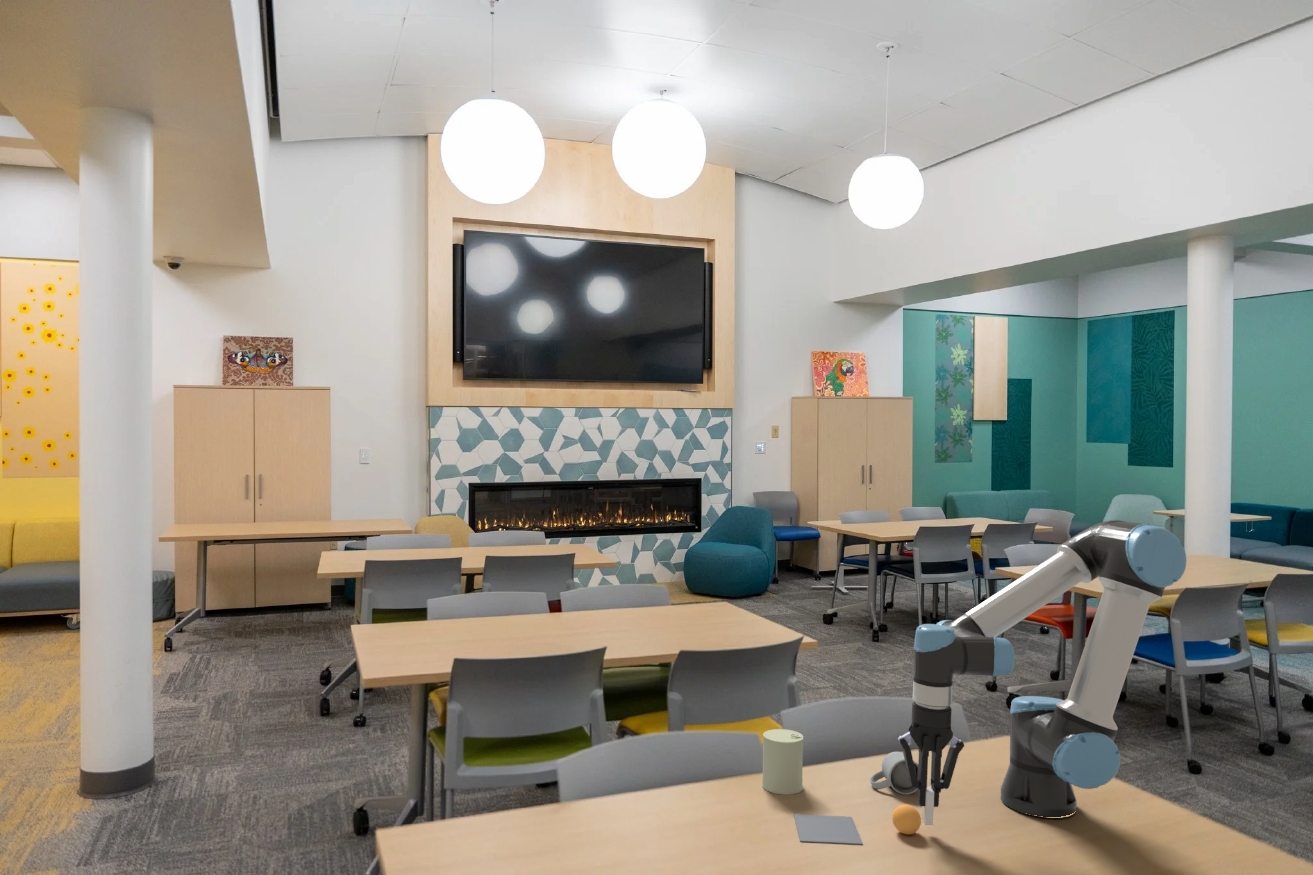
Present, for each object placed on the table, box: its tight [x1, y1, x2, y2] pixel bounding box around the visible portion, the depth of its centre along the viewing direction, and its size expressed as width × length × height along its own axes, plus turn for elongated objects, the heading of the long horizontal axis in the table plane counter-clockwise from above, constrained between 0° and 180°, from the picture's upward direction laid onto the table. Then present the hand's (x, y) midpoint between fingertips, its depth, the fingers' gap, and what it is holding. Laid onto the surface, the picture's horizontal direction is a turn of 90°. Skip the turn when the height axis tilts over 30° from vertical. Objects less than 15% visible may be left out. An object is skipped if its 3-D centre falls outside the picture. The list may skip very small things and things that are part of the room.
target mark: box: [793, 813, 863, 845], centre depth 172 cm, size 12×12×1 cm
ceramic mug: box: [870, 751, 918, 795], centre depth 194 cm, size 11×8×8 cm
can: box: [761, 728, 805, 796], centre depth 193 cm, size 9×9×12 cm
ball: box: [892, 803, 922, 835], centre depth 171 cm, size 6×6×6 cm
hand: (927, 821), depth 171 cm, fingers closed
